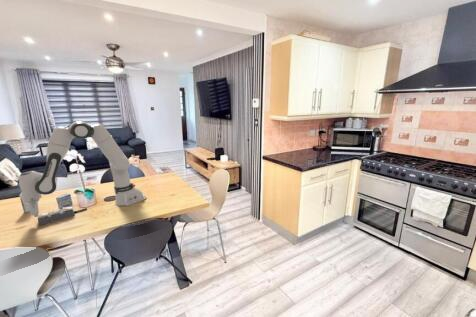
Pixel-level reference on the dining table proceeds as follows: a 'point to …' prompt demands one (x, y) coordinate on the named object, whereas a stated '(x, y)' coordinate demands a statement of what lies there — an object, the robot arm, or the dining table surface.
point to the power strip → (57, 216)
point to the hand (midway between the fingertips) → (36, 215)
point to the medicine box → (64, 201)
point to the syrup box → (24, 204)
